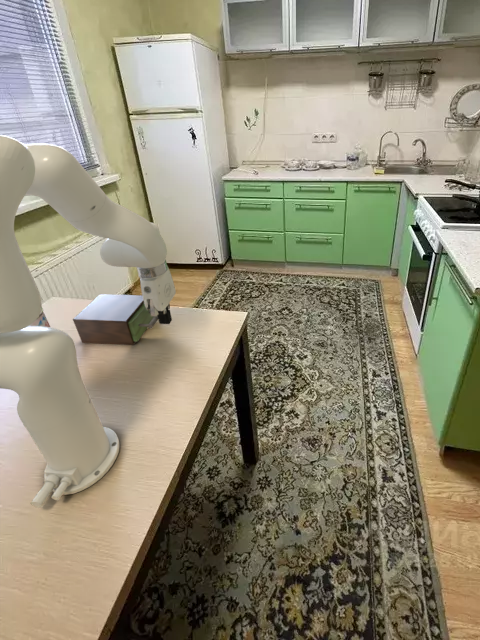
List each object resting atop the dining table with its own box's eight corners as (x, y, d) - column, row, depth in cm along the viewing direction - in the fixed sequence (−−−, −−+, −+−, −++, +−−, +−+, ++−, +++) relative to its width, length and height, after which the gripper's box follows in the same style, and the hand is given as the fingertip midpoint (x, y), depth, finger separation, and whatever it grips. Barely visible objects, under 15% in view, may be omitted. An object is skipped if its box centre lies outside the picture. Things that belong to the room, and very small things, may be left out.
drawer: (168, 317, 102) (164, 299, 99) (151, 342, 92) (146, 323, 89) (112, 315, 104) (106, 297, 100) (90, 339, 93) (82, 320, 90)
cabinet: (153, 317, 103) (147, 295, 99) (133, 345, 92) (125, 321, 88) (107, 316, 105) (100, 294, 101) (82, 343, 94) (72, 319, 90)
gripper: (153, 282, 80) (167, 340, 88) (176, 255, 93) (187, 307, 102) (124, 282, 81) (141, 339, 89) (151, 255, 94) (164, 307, 102)
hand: (166, 322), depth 95 cm, fingers closed
